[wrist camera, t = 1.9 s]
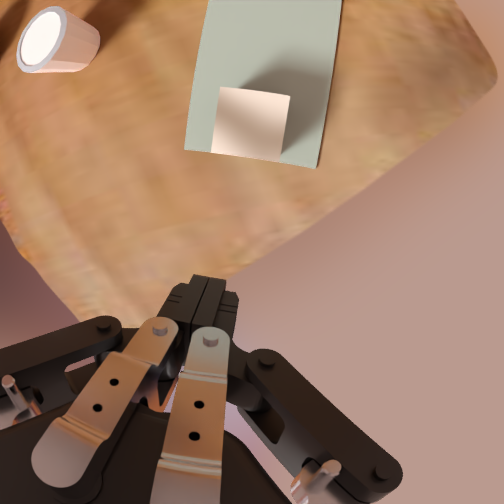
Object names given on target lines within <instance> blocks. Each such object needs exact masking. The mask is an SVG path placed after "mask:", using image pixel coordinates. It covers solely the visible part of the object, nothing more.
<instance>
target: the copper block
mask: <svg viewBox="0 0 504 504" xmlns="http://www.w3.org/2000/svg"><path fill="white" fill-rule="evenodd" d="M289 101H290V96H288V95H282V94H276V93H269V92H263V91H255V90H247V89H239V88H229V87H220V91H219V98H218V104H217V111H216V118H215V125H214V132H213V140H212V147H211V153H218V154H226V155H234V156H241V157H248V158H255V159H261V160H267V161H273V162H279V161H280V155H281V149H282V143H283V137H284V131H285V125H286V119H287V113H288V107H289Z"/></svg>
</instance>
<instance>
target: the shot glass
mask: <svg viewBox="0 0 504 504" xmlns="http://www.w3.org/2000/svg"><path fill="white" fill-rule="evenodd" d="M99 46H100V35H99V32H98V30H97V29H95V28H94V27H93V26H91V25H90V24H88V23H86V22H85V21H83V20H82V19H80V18H78V17H77V16H75V15H73V14H71V13H70V12H68V11H66V10H65V9H63V8H61V7H59V6H50V7H48V8H46V9H44V10H42V11H40V12H39V13H38V14H37V15H36V16H35V17H34V18H33V19H32V20H31V21H30V22H29V24H28V25H27V26H26V28H25V29H24V31H23V33H22V35H21V38H20V40H19V43H18V48H17V55H16V57H17V62H18V66H19V67H20V68H21V70H22V71H23V72H28V73H41V72H76V71H79V70H82V69H83V68H84V67H86V66H87V65H89V64H90V62H91V61H92V60H93V58H94V57H95V56H96V53H97V51H98V49H99Z"/></svg>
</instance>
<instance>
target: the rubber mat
mask: <svg viewBox="0 0 504 504" xmlns="http://www.w3.org/2000/svg"><path fill="white" fill-rule="evenodd" d="M341 2H342V0H209V3H208V7H207V12H206V16H205V21H204V26H203V31H202V36H201V41H200V46H199V51H198V57H197V62H196V68H195V74H194V80H193V87H192V93H191V100H190V107H189V114H188V122H187V130H186V138H185V147H184V150H194V151H204V152H211V147H212V140H213V132H214V125H215V118H216V111H217V104H218V98H219V91H220V87H229V88H239V89H247V90H255V91H263V92H269V93H276V94H282V95H288V96H290V101H289V107H288V113H287V119H286V125H285V131H284V137H283V143H282V149H281V155H280V161H279V162H281V163H286V164H292V165H297V166H303V167H308V168H313V169H316V165H317V160H318V155H319V150H320V144H321V139H322V133H323V127H324V122H325V116H326V110H327V104H328V98H329V91H330V85H331V79H332V72H333V65H334V58H335V51H336V44H337V36H338V28H339V20H340V11H341Z"/></svg>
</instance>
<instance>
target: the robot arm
mask: <svg viewBox="0 0 504 504" xmlns="http://www.w3.org/2000/svg"><path fill="white" fill-rule="evenodd" d="M225 288H226V280H224V279H218V278H212V277H206V276H201V275H195V274H194V275H193V277H192V278H191V280H190V282H189V284H185V283H180V284H178V285H176V286H175V287H173V289H172V291H171V292H170V294H169V296H168V297H167V299H166V301H165V302H164V304H163V306H162V308H161V309H160V311H159V313H158V315H157V316H156V317H153V318H150V319H148V320H146V321H145V322H144V323H143V324H142V326H141V327H140V328H122V326H121V323H120V321H119V320H118V319H117V318H115V317H112V316H99V317H95V318H92V319H89V320H87V321H84V322H81V323H78V324H75V325H72V326H69V327H66V328H63V329H60V330H57V331H54V332H51V333H48V334H45V335H42V336H39V337H36V338H33V339H30V340H27V341H24V342H21V343H17V344H14V345H11V346H8V347H5V348H2V349H0V504H292V503H291V502H290V501H289V499H288V498H287V497H286V496H285V495H284V494H283V492H282V491H281V490H280V489H279V487H278V486H277V485H276V484H275V482H274V481H273V480H272V479H271V478H270V476H269V475H268V474H267V473H266V471H265V470H264V469H263V467H262V466H261V465H260V463H259V462H258V461H257V459H256V458H255V457H254V455H253V454H252V453H251V451H250V450H249V449H248V448H247V446H246V445H245V444H244V443H243V442H242V441H241V440H239V439H238V438H237V437H236V436H234V435H233V434H231V433H229V432H227V431H225V430H224V419H225V405H226V401H227V402H229V403H231V404H234V405H236V406H237V409H238V411H239V413H240V414H241V416H242V417H243V418H244V420H245V421H246V422H247V423H248V425H249V426H250V427H251V428H252V430H253V431H254V432H255V433H256V434H257V436H258V437H259V438H260V439H261V440H262V441H263V443H264V444H265V445H266V446H267V448H268V449H269V450H270V451H271V452H272V453H273V454H274V456H275V457H276V458H277V459H278V460H279V461H280V463H281V464H282V465H283V466H284V467H285V468H286V469H287V470H288V472H289V473H290V474H291V475H292V476H293V477H294V478H295V479H294V480H293V482H292V484H291V488H290V491H291V494H292V497H293V498H294V500H295V501H296V503H297V504H374V503H375V502H377V501H379V500H380V499H382V498H383V497H384V496H386V495H387V494H388V493H390V492H392V491H393V490H394V489H396V488H397V487H398V486H399V484H400V483H401V481H402V477H403V472H402V468H401V466H400V464H399V463H398V461H397V460H396V459H394V458H393V457H392V456H391V455H390V454H388V453H387V452H386V451H385V450H384V449H383V448H381V447H380V446H379V445H378V444H377V443H376V442H374V441H373V440H372V439H371V438H370V437H369V436H367V435H366V434H365V433H364V432H363V431H362V430H360V428H358V427H357V426H356V425H355V424H354V423H353V422H352V421H351V420H350V419H348V418H347V417H346V416H345V415H344V414H343V413H342V412H341V411H340V410H338V409H337V408H336V407H335V406H334V405H333V404H332V403H331V402H330V401H329V400H328V399H327V398H325V397H324V396H323V395H322V394H321V393H320V392H319V391H318V390H317V389H316V388H315V387H314V386H313V385H312V384H310V382H308V380H306V379H305V378H304V377H303V376H302V375H301V374H300V373H299V372H298V371H297V370H296V369H295V368H294V367H293V366H292V365H291V364H290V363H289V362H288V361H287V360H286V359H285V358H284V357H283V356H281V354H279V353H278V352H276V351H273V350H269V349H257V350H254V351H252V352H251V353H248V352H245V351H243V350H241V349H240V348H238V347H237V346H236V345H235V344H234V342H233V340H232V338H233V333H234V328H235V322H236V315H237V309H238V302H239V299H238V296H237V295H236V292H230V291H225ZM91 356H94V359H95V362H93V363H90V364H88V365H85V366H83V367H80V368H77V369H75V370H72V371H69V372H64V371H65V369H66V367H67V366H68V365H70V364H73V363H76V362H78V361H81V360H83V359H86V358H89V357H91ZM181 366H185V367H184V371H181V372H180V369H181ZM179 372H180V375H179ZM177 382H178V384H177ZM176 384H177V387H176V392H175V396H174V400H173V405H172V409H171V413H166V412H165V413H164V410H165V408H166V406H167V403H168V401H169V399H170V397H171V395H172V392H173V390H174V388H175V386H176Z"/></svg>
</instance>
